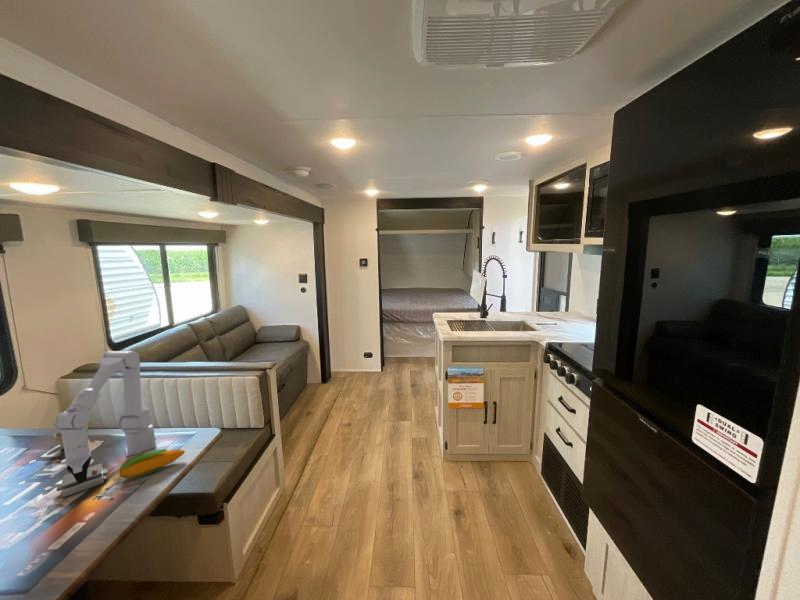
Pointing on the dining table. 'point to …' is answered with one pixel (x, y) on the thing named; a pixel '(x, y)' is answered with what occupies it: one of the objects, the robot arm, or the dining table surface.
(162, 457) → the corn
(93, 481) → the cooker
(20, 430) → the dining table surface
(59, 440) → the flower pot
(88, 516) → the dining table surface
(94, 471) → the lid
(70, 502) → the dining table surface
